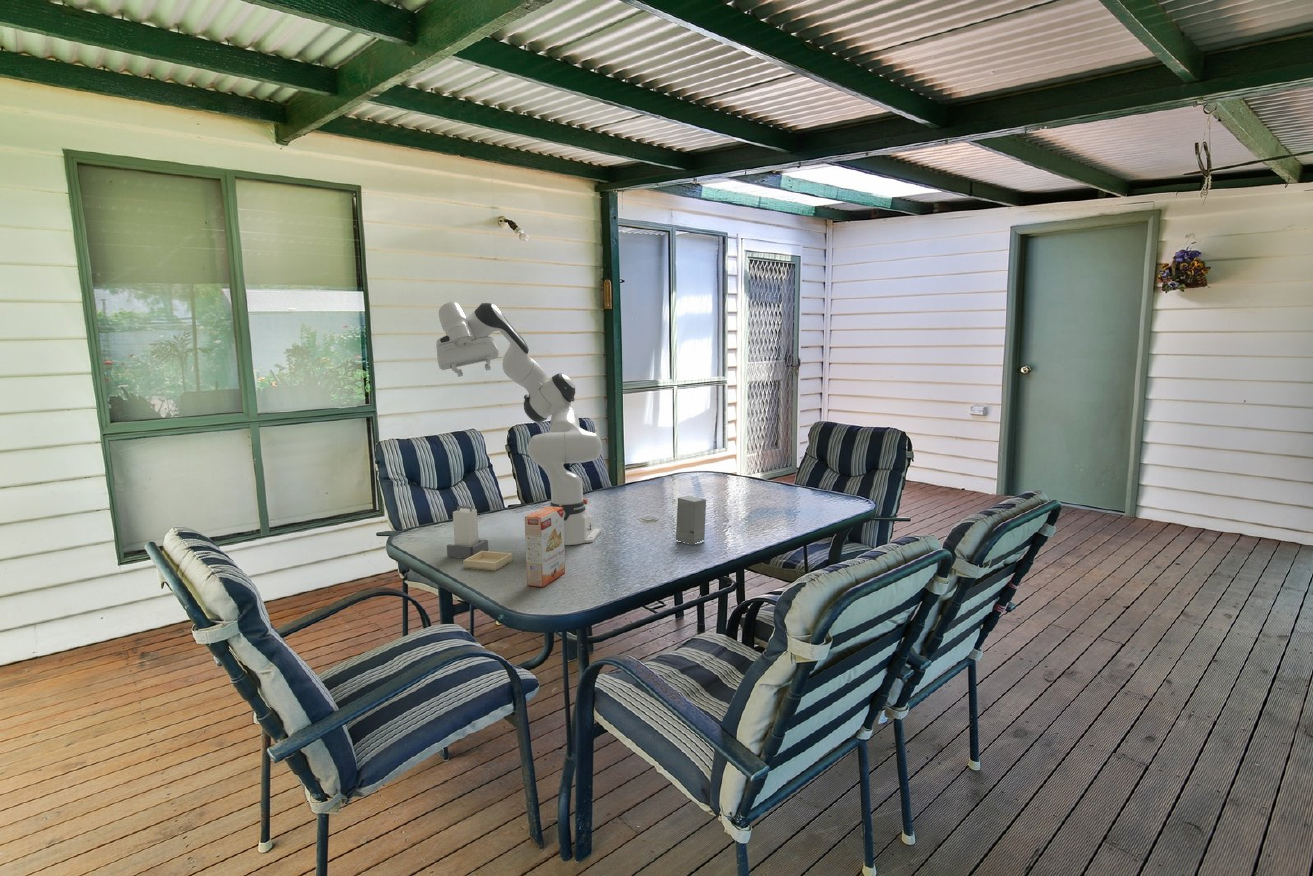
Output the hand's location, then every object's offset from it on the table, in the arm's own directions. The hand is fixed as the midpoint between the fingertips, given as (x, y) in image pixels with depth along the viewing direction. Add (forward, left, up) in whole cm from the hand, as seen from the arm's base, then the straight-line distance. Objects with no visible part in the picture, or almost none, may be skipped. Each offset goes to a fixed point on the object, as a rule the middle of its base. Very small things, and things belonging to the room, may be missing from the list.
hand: (474, 372), depth 236 cm
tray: (+15, +11, -61) cm, 63 cm away
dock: (+7, -2, -61) cm, 61 cm away
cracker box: (+23, +36, -61) cm, 74 cm away
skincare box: (-26, +67, -61) cm, 94 cm away
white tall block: (+7, -2, -61) cm, 61 cm away
